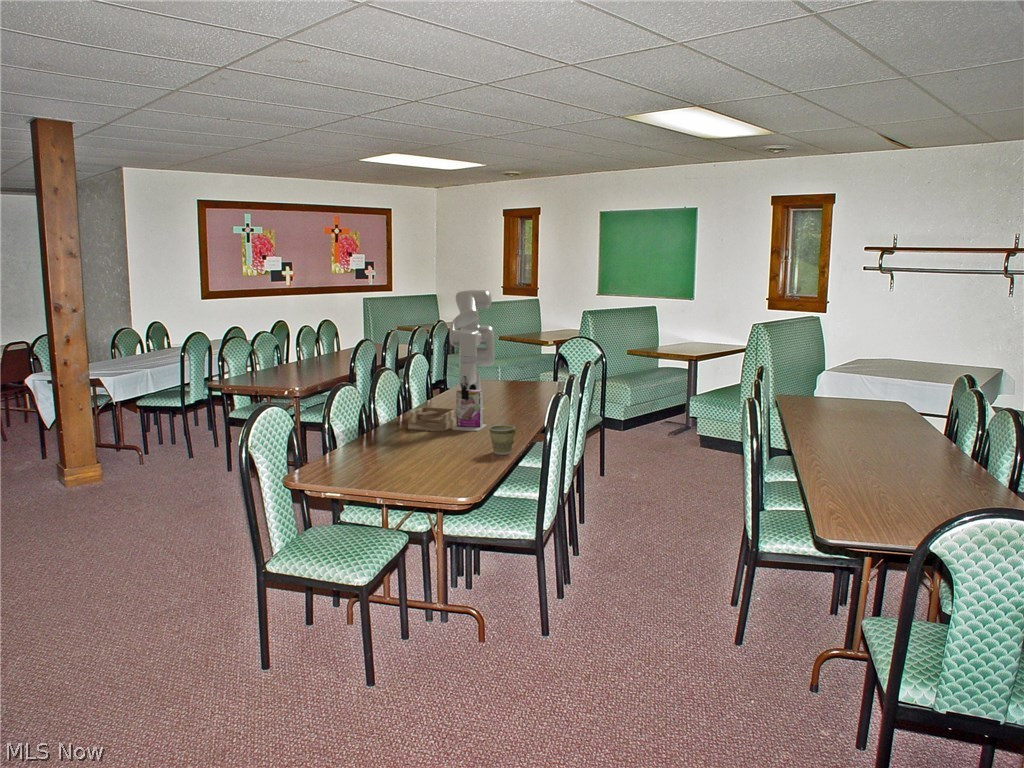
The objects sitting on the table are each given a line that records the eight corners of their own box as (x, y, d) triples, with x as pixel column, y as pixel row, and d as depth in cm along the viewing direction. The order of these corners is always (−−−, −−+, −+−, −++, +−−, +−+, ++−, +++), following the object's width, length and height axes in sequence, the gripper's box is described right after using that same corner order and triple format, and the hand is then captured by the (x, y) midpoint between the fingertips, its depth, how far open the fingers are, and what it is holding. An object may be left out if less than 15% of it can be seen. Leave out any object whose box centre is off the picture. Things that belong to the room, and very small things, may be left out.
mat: (461, 424, 346) (461, 422, 346) (486, 425, 342) (486, 424, 342) (452, 429, 335) (452, 428, 334) (477, 431, 331) (477, 430, 331)
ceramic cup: (487, 455, 289) (487, 430, 287) (491, 449, 299) (491, 424, 297) (521, 456, 287) (521, 431, 285) (524, 450, 297) (524, 425, 295)
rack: (423, 421, 352) (423, 407, 351) (457, 423, 347) (456, 408, 346) (408, 429, 336) (407, 413, 335) (442, 431, 331) (442, 415, 330)
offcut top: (416, 419, 336) (416, 413, 335) (431, 416, 342) (431, 410, 342) (424, 420, 332) (424, 415, 332) (439, 417, 339) (438, 412, 339)
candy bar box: (456, 426, 337) (455, 390, 335) (459, 424, 342) (458, 389, 340) (480, 427, 335) (480, 391, 333) (483, 425, 340) (482, 389, 338)
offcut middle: (418, 422, 341) (418, 416, 341) (442, 422, 340) (442, 417, 339) (415, 424, 336) (415, 419, 335) (439, 425, 334) (439, 419, 334)
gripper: (467, 357, 343) (468, 394, 346) (453, 361, 327) (454, 400, 329) (483, 357, 341) (483, 394, 343) (469, 362, 324) (470, 401, 327)
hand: (469, 397), depth 336 cm, fingers open, 9 cm apart
